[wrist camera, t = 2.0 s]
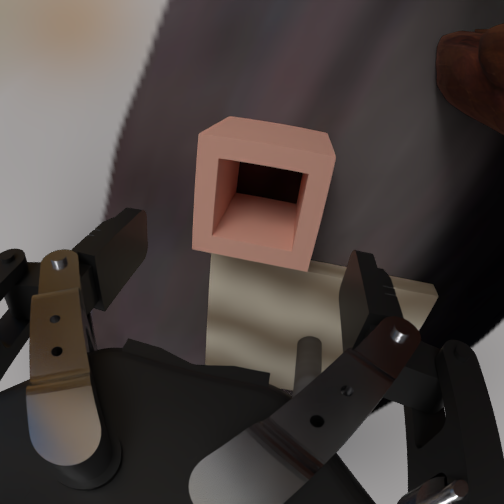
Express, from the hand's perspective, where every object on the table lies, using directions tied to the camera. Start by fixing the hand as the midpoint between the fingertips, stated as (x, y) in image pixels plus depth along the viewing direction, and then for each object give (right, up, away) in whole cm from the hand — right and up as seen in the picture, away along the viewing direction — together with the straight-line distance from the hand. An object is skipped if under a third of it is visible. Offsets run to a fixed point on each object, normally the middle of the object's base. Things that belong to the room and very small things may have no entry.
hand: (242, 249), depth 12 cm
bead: (+2, +5, +8) cm, 9 cm away
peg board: (+5, -7, +14) cm, 17 cm away
